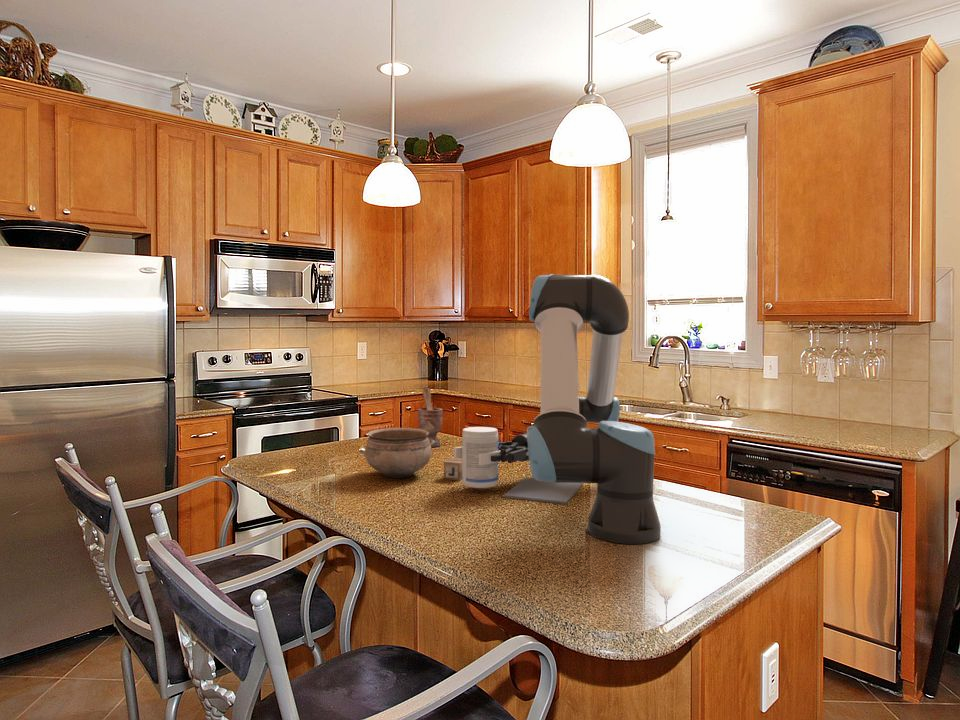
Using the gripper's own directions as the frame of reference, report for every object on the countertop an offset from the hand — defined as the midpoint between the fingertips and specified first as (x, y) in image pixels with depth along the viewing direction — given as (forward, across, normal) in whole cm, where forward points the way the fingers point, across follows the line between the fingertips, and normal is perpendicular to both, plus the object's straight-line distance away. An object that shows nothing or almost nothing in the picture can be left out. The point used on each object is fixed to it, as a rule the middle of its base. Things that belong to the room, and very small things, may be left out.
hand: (467, 456), depth 167 cm
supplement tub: (-4, 0, -8) cm, 9 cm away
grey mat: (-18, -11, -10) cm, 23 cm away
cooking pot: (+4, +26, -10) cm, 28 cm away
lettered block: (-8, +15, -10) cm, 19 cm away
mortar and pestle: (-29, +58, -9) cm, 65 cm away
